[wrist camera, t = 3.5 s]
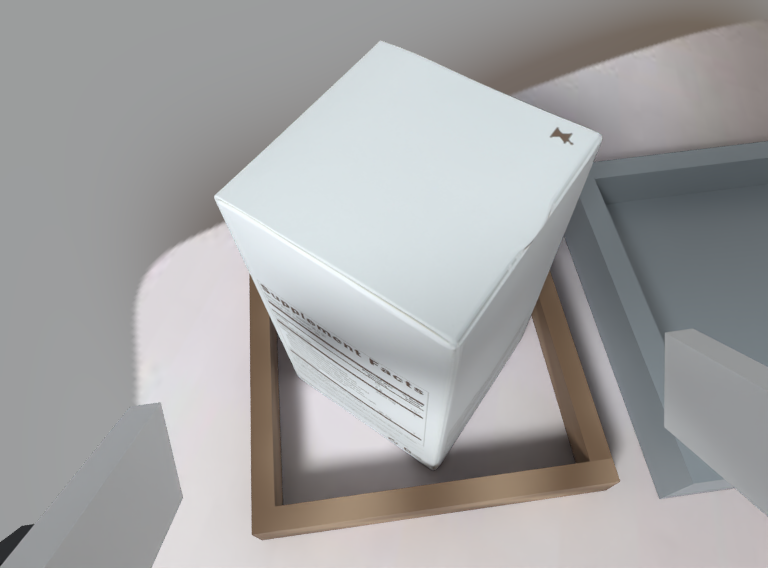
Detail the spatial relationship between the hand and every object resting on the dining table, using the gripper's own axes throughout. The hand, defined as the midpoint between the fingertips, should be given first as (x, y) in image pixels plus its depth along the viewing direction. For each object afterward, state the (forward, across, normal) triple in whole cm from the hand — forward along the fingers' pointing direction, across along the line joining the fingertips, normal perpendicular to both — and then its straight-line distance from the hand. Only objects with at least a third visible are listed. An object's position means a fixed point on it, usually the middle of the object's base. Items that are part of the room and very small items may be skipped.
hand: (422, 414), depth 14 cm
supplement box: (+15, +1, -4) cm, 15 cm away
